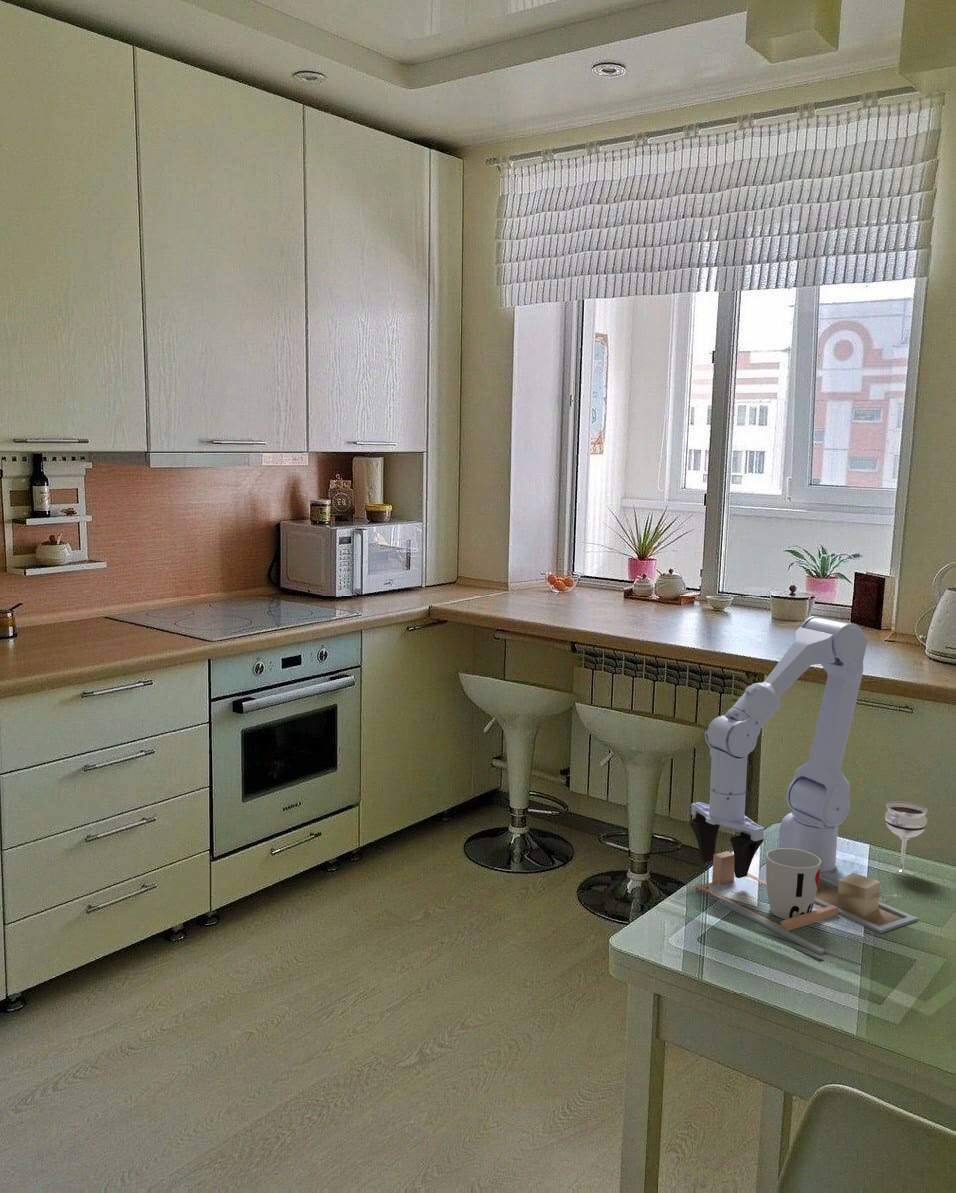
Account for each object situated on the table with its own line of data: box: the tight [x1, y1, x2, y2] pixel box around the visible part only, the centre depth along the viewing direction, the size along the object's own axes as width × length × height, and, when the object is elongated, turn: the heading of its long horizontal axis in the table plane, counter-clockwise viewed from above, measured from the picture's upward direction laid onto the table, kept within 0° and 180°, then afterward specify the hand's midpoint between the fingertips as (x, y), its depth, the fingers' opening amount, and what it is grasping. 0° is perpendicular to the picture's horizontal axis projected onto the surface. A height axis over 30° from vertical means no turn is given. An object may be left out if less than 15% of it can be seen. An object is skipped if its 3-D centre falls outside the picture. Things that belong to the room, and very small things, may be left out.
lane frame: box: [719, 875, 919, 963], centre depth 160 cm, size 20×22×2 cm
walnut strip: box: [815, 881, 903, 927], centre depth 164 cm, size 17×6×5 cm, turn 32°
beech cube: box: [837, 872, 881, 917], centre depth 162 cm, size 4×4×4 cm
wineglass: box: [884, 801, 928, 876], centre depth 178 cm, size 7×7×12 cm
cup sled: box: [694, 850, 839, 932], centre depth 164 cm, size 19×12×6 cm, turn 32°
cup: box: [765, 848, 821, 920], centre depth 159 cm, size 8×8×10 cm
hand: (724, 868), depth 172 cm, fingers open, 7 cm apart
